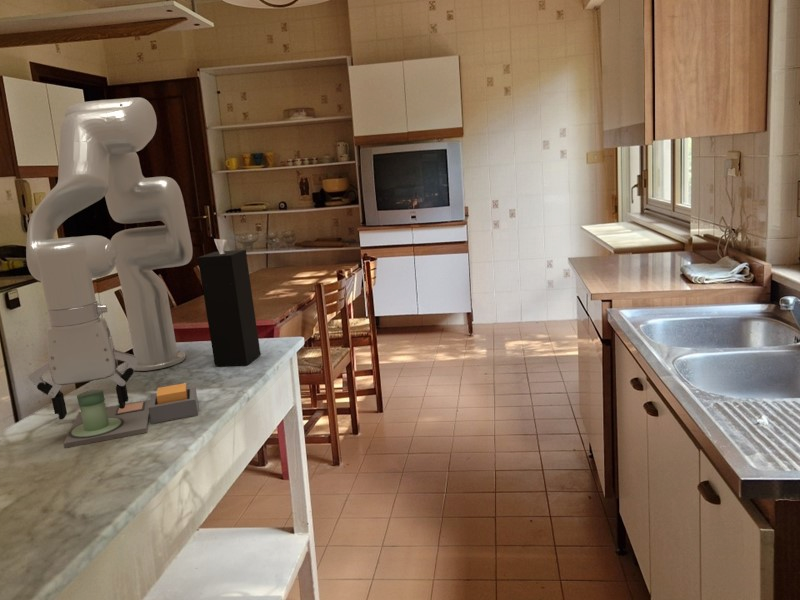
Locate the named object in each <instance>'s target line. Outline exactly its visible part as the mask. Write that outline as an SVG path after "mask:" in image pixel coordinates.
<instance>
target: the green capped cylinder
mask: <svg viewBox="0 0 800 600" xmlns="http://www.w3.org/2000/svg"><path fill="white" fill-rule="evenodd" d="M76 398H77V403H78V404H77V405H78V407H79V410H80V411H79V412H81V416H82V421H83V426H84V430H85V431H95V430H100V429H103V428H105V427H107V426H108V425H109V422H108V416H107V411H106V401H105V400H106V398H105V393H104V390H103V389H93V390H88V391H87V390H86V391H84V392H81V393H79V394H77V396H76Z"/></svg>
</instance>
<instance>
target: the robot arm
mask: <svg viewBox="0 0 800 600" xmlns="http://www.w3.org/2000/svg"><path fill="white" fill-rule="evenodd" d="M64 113H65V114H64V118H63V119H62V122H61V126H60V132H59V154H58V170H57V172H58V173H57V174H58V176H57V178H58V179H57V183H56V185H55V186H54V187H53V188H52V189H50V191H49V192H48V193H46V195H45V196H44V197H43V198H42V200H41V201H40V202H39V204H38V205H37V206H36V208H35V209H34V211H33V212H32V214H31V216H30V218H29V221H28V225H27V234H26V247H25V248H26V249H25V252H26V253H25V254H26V255H25V256H26V265H27V268H28V271H29V273H30V274H31V276H32V277H33V278H34V279H35V280H37V281H39V282H41V285H42V289H43V290H42V291H43V293H44V298H45V304H46V309H47V314H48V319H49V323H50V324H49V325H50V326H48V327H47V329H46V330H47V331H46V337H47V338H46V340H47V341H46V344H47V345H46V346H47V356H48V361H46V362H45V363H44V364H42V365H40V366H39V367H37V368H36V369H35V370H32V372H30V373H29V375H28V379H29V381H30V382H31V383H32V384H33V385H35V386H36V389H37V390H39V391H40V392H42V393H44V394H45V395H47V396H48V397H49V398H50V399H51V401H52V403H51V404H52V406H53V407H52V408H53V412H54V415H58V419H59V420H61V421H62V420H64V419H65V418H66V416H67V414H68V412H67V406H66V401H65V397H64V393H63V392H62V391H61V388H62V386H69V385H75V384H81V383H86V382H93V381H97V380H103V379H107V378H109V379H110V380H111V381H112V382H114V383H115V384H116V386H115V392H116V397H117V402H118V405H119V408H121V409H123V408H124V407H125V404H127V403H129V393H128V390H127V389H128V388H127V382H128V381H129V380H130V378H131V377H132V376H133V374H134V372H144V371H146V372H149V371H154V370H155V371H156V370H160V369H165V368H168V367H172V366H175V365H177V364H179V363H182V362H184V360H185V359H186V353H185V352H183V351H181V350H178V349H177V342H176V336H175V335H176V334H175V330H174V324H173V323H174V322H173V318H172V313H171V305H170V301H169V295H168V290H167V289H168V288H167V286H166V284H165V282H164V281H163V280H162V279H161V277H160V276H158V274H156V273H155V272H154V271H153V270H158V269H166V268H167V269H168V268H175V267H182V266H185V265H188V264H189V263H190V262H191V261H192V259H193V243H192V238H191V232H190V227H189V222H188V216H187V212H186V207H185V202H184V197H183V194H182V191H181V188H180V186H179V184H178V183H177V181H176V180H175V179H174V178H172V177H168V176H153V177H145V176H144V175H143V172H142V168H141V163H140V158H139V155H138V154H137V152H139V151H141V150H143V149H144V148H145V147H146V146H147V145H148V143H150V141H151V140H152V139H153V137H154V136H155V134H156V130H157V125H158V121H157V115H156V112H155V110H154V106H153V105H152V104H151V103H150V102H149V100H147V99H145V98H144V97H126V98H113V99H99V100H90V101H83V102H79V103H74V104H72V105H70V106H69V107H68V108H67V109H66V110H65V112H64ZM103 198H105V202H106V206H107V210H108V213H109V215H110V217H111V218H112V220H113V221H114V222H116V223H119V224H139V223H149V222H156V221H160V222H162V223H163V224H164V225H156V226H142V227H134V228H128V229H123V230H120V231H118V232H116V233H115V234H114V235H112V237H111V238H110V239H109V238H107V237H105V236H103V235H98V234H97V235H95V234H93V235H92V234H91V235H82V236H70V237H69V236H68V237H58V238H54V236H55V233H56V232H57V230H58V229H59V228H60V226H61V224H63V223H64V222H65V221H66V220H68V218H70V217H72V216H74V215H75V214H77V213H79V212H81V211H83V210H84V209H86V208H88V207H90V206H91V205H93V204H95V203H97V202H99V201H100V200H102V199H103ZM115 269H116V272H117V275H118V276H117V277H118V278H119V282H120V283H119V284H120V288H121V292H122V297H123V302H124V307H125V312H126V313H125V314H126V318H127V325H128V329H129V336H130V340H131V346H132V352H133V354H131V353H127V352H123V351H120V350H117V349H115V345H114V341H113V338H112V337H113V336H112V334H111V331H110V328H109V325H108V323H107V320H106V318H104V317H100V316H101V315H102V314H103V313H108V307H107V304H100V303H98V300H96V299H97V297H96V291H95V288H94V283H93V279H98V278H103V277H106V276H108V275H109V274H110V273H111V272H112V271H114V270H115ZM118 361H122V362H125V363H127V364H128V365H127V368H126V369H125V371H124V372H121V371H120V370H119V369H118V368H119V367H118V366H119V363H118ZM49 371H50V376H51V379H52V382H53V385H52V384H51V383H49V382H47V381H45V380H44V379H43V378H42V376H43V375H45V374H46V373H48V372H49ZM126 402H127V403H126Z"/></svg>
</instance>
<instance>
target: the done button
mask: <svg viewBox="0 0 800 600" xmlns="http://www.w3.org/2000/svg"><path fill="white" fill-rule="evenodd" d="M187 388H188V387H187V383H186V382H184V383H178V384H174V385H173V384H172V385H167V386H161V387H160V386H159V387H157V390H156V393H157V396H156V397H157V402H158V404H163V403H169V402H174V401H180V400H185V399H188V393H187Z"/></svg>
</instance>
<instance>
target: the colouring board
mask: <svg viewBox="0 0 800 600" xmlns="http://www.w3.org/2000/svg"><path fill="white" fill-rule="evenodd" d="M149 402H150V399H144V400H140V401H135V402H127V403H126V404H125V407H124V408H123V409H121V408H119V404H116V405H111V406H107V407H106V411H107V416H108V422H109V425H108V426H107V427H105V428H103V429H100V430H95V431H85V430H84V426H83V421H82V416H81V411H79V412H78V413H77V415H76V417H75V419H74V421H73V423H72V426H71V428H70V429H69V431H68V433H67V435H66V437H65V439H64V442H63V448H64V449H66V448H71V447H77V446H82V445H89V444H93V443H98V442H103V441H109V440H114V439H120V438H125V437H130V436H135V435H139V434H141V435H142V434H147V433H148V430H149V429H148V428H149V423H150V414H149V409H148V407H149Z"/></svg>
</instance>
